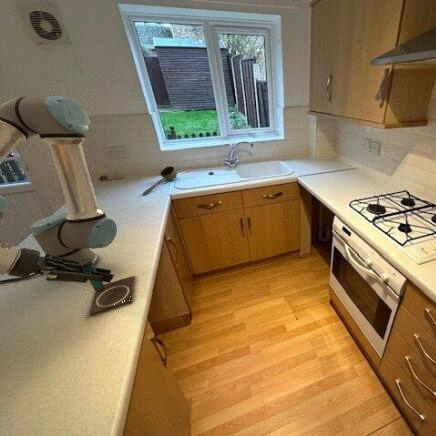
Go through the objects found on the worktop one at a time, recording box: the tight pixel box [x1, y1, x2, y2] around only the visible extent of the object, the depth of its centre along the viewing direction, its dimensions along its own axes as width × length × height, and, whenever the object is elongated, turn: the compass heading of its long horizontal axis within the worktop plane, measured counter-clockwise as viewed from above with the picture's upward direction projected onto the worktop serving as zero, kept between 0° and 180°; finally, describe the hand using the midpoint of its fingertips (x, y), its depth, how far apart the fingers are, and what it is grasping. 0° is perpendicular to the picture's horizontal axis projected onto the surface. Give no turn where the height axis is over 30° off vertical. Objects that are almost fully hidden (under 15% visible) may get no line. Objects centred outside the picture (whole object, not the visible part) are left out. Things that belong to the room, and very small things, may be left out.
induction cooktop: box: [89, 275, 136, 316], centre depth 86 cm, size 12×14×1 cm
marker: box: [79, 259, 105, 293], centre depth 78 cm, size 3×3×12 cm
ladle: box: [142, 165, 178, 196], centre depth 184 cm, size 12×38×10 cm, turn 171°
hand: (110, 276), depth 82 cm, fingers closed on marker, 3 cm apart
